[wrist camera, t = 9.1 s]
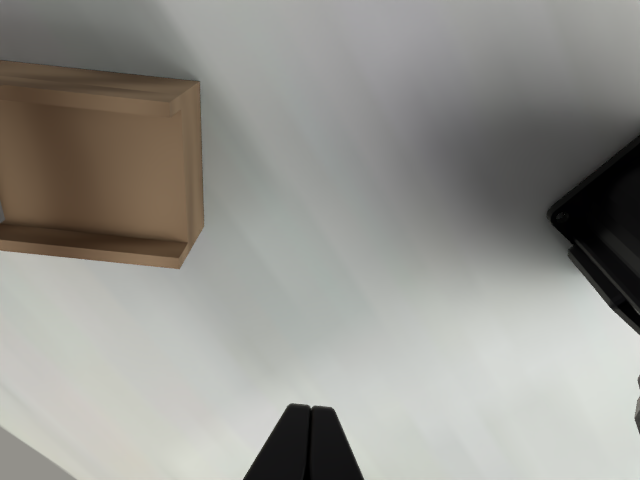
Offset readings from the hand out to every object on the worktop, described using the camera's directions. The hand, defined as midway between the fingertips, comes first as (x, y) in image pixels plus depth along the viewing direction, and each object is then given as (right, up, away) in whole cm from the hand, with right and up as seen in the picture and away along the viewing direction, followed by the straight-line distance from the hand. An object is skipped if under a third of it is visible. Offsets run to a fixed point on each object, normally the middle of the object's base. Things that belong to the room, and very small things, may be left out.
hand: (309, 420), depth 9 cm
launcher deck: (-9, +7, +11) cm, 16 cm away
